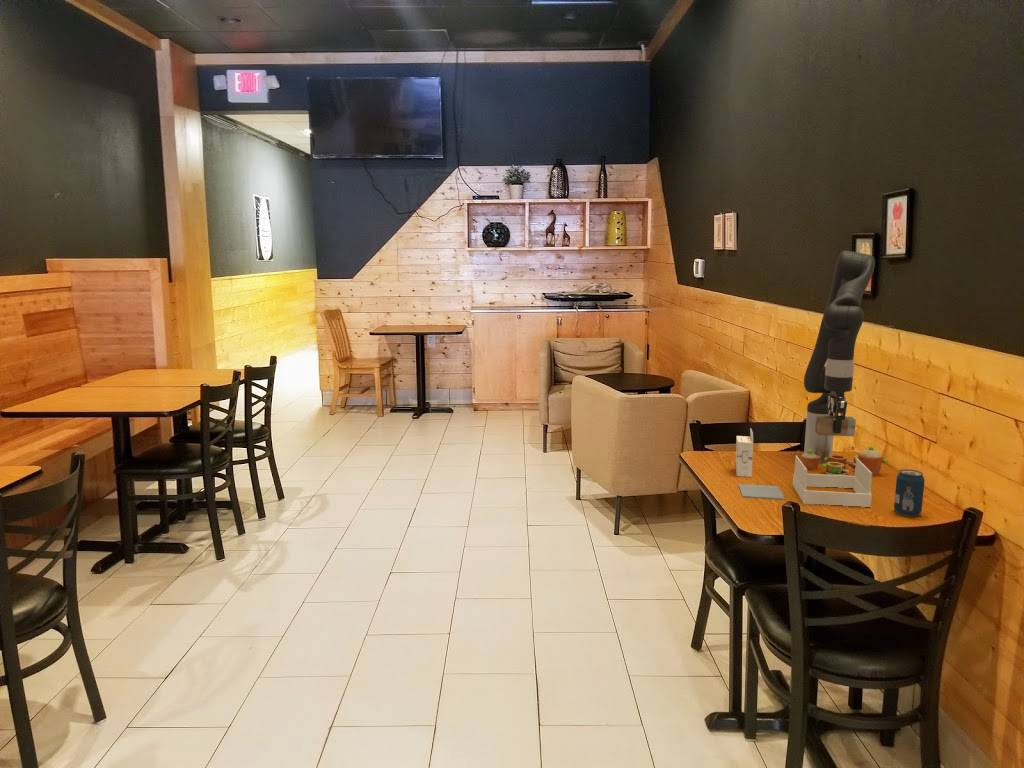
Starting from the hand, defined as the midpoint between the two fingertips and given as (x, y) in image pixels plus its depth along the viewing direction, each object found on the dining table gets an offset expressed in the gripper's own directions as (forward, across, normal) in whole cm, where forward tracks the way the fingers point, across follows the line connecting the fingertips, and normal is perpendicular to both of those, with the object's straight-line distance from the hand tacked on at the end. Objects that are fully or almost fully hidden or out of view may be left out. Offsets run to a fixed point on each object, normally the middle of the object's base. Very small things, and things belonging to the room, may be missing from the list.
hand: (834, 430), depth 223 cm
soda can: (+20, -12, -18) cm, 30 cm away
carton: (+20, 0, 0) cm, 20 cm away
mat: (+20, 0, +20) cm, 28 cm away
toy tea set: (+21, +29, -10) cm, 37 cm away
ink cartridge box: (+21, +20, +23) cm, 37 cm away
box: (+1, 0, 0) cm, 1 cm away
